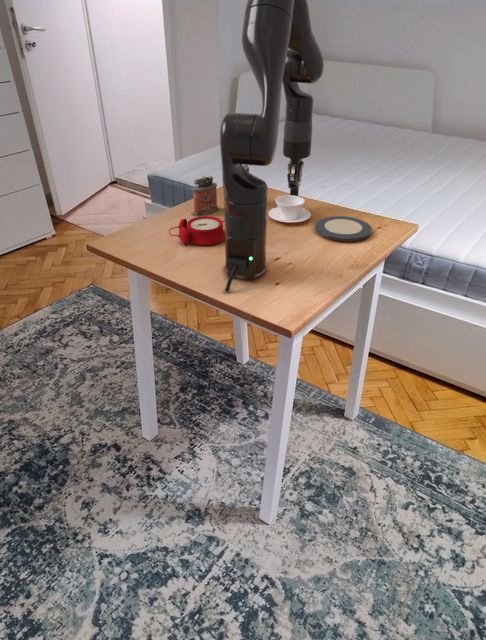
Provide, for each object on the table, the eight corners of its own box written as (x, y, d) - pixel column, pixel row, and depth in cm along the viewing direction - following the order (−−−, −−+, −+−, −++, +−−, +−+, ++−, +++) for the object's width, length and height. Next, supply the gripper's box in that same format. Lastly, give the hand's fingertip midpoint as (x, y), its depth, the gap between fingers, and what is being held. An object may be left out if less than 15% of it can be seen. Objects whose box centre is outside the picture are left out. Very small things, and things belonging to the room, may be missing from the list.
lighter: (212, 206, 144) (211, 172, 138) (220, 209, 142) (219, 175, 136) (191, 213, 139) (188, 178, 133) (198, 216, 137) (196, 181, 131)
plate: (369, 246, 123) (370, 241, 122) (311, 239, 126) (311, 234, 125) (372, 223, 134) (373, 218, 134) (318, 218, 137) (319, 213, 136)
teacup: (288, 207, 144) (289, 189, 140) (319, 219, 137) (321, 200, 133) (259, 217, 137) (259, 199, 134) (290, 230, 130) (291, 211, 127)
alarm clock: (231, 231, 121) (171, 221, 117) (226, 254, 124) (168, 245, 120) (227, 215, 129) (171, 205, 125) (222, 237, 132) (168, 228, 129)
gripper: (288, 130, 135) (285, 191, 145) (279, 143, 125) (276, 207, 135) (314, 131, 133) (310, 193, 144) (307, 144, 123) (303, 210, 134)
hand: (293, 200), depth 140 cm, fingers closed
